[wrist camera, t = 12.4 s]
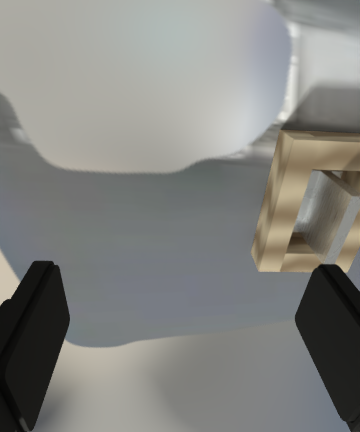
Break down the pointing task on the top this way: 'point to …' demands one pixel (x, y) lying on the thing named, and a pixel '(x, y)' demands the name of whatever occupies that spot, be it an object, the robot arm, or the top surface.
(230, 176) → the top surface
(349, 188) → the t bracket
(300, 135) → the well block
